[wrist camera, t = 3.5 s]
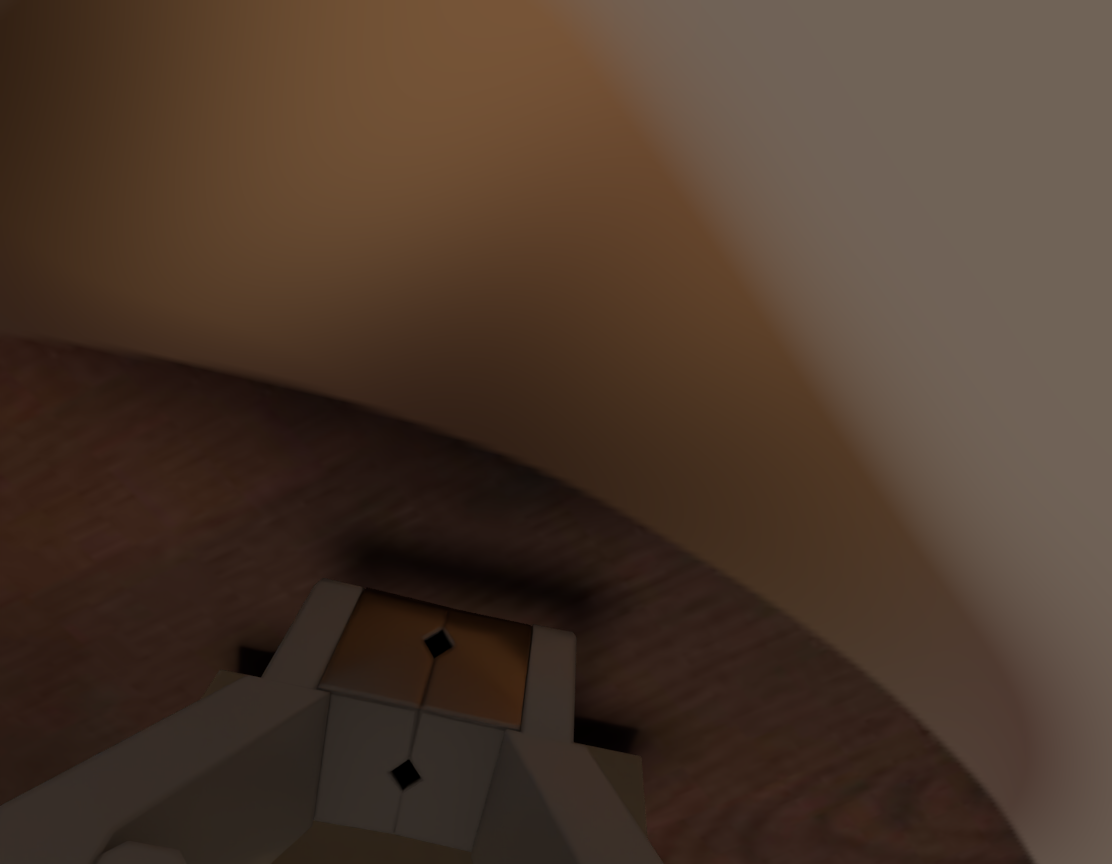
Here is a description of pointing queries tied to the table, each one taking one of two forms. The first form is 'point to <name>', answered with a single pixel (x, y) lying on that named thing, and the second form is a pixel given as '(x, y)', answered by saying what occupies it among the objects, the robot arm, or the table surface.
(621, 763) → the drawer
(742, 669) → the table surface
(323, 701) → the robot arm
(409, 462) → the table surface
